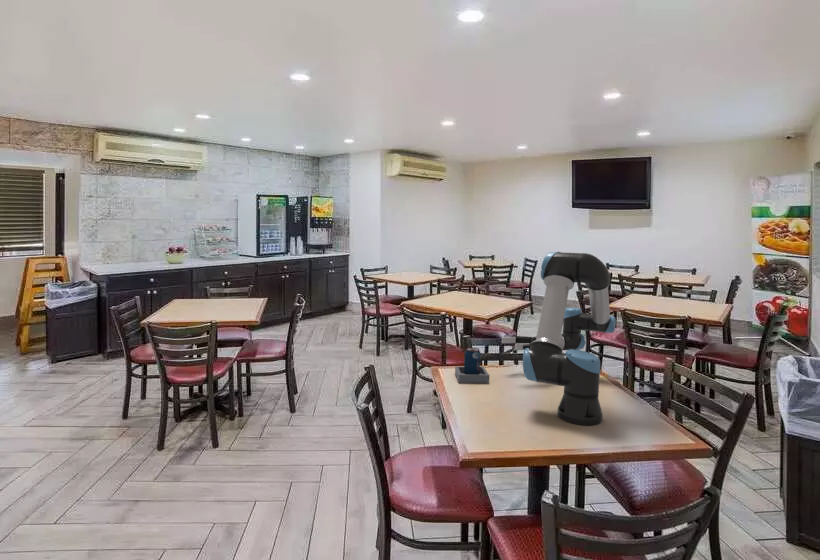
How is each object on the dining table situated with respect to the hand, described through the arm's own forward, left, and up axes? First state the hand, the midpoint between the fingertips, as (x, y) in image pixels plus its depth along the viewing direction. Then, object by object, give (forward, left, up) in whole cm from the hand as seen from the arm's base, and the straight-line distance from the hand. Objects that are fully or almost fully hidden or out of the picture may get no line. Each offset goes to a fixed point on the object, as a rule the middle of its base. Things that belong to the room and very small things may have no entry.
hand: (508, 343), depth 222 cm
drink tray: (-12, +11, -15) cm, 22 cm away
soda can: (-12, +11, -14) cm, 22 cm away
